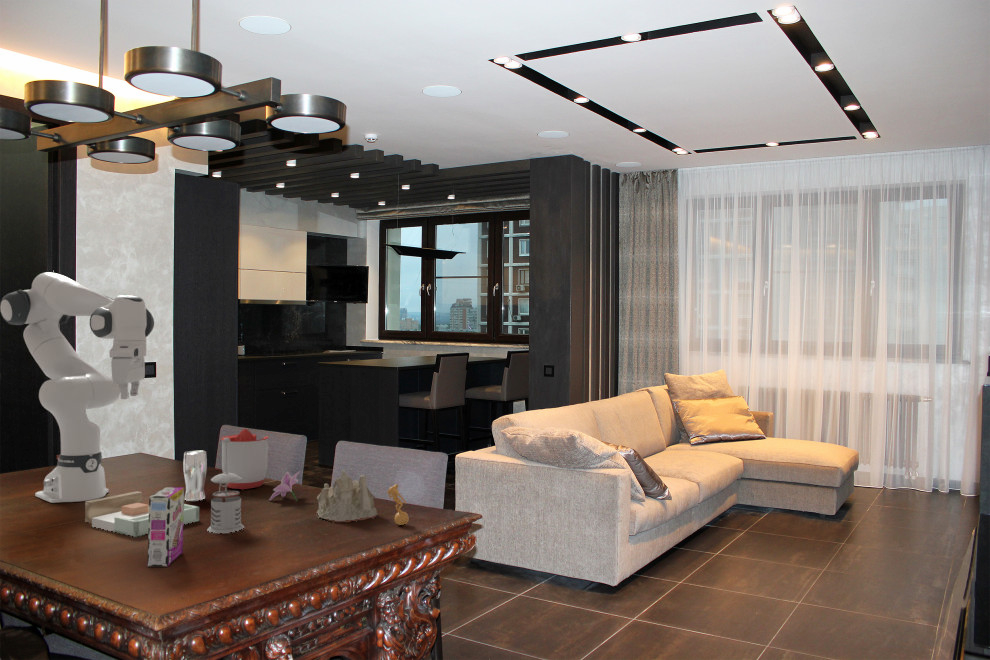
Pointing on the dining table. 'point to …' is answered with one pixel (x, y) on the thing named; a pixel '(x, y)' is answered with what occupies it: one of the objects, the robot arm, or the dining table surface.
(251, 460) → the citrus juicer
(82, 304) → the robot arm
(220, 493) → the french press
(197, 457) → the beer glass
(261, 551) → the dining table surface
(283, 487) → the lily
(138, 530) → the box
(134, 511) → the terracotta tile
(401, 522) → the figurine
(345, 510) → the castle model
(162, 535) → the candy bar box
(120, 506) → the bar
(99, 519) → the plate
